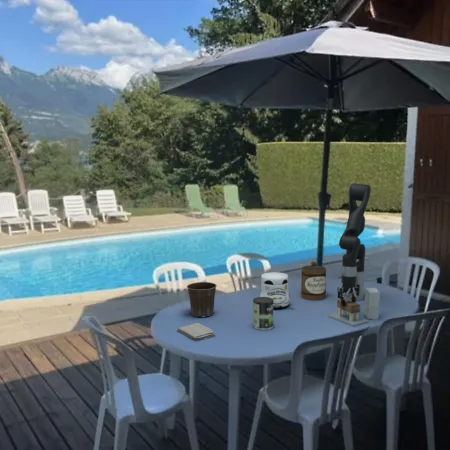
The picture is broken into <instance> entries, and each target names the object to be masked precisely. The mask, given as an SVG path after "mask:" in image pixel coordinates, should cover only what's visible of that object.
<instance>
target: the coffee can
mask: <svg viewBox="0 0 450 450" xmlns="http://www.w3.org/2000/svg"><path fill="white" fill-rule="evenodd" d="M273 301H274V300H273V299H272V298H269V297H260V296H258V297H254V298H253V299H252V302H253V306H252V307H253V311H252V312H253V319H252V321H253V328H254V329H257V330H260V331H261V330H262V331H265V330H271V329H273V328H274V308H273Z"/></svg>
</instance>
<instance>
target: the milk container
mask: <svg viewBox="0 0 450 450" xmlns="http://www.w3.org/2000/svg"><path fill="white" fill-rule="evenodd" d="M260 284H261V285H260V287H261V289H260V294H259V297H269V298H272V299H273V300H274V301H273V309H281V308H282V309H283V308H285V307H287V306H289V304H290V303H291V302H290V301H291V295H290V292H289V284H290V283H289V275H288V274H287V273H283V272H278V271H277V272H275V271H273V272H265V273H262V274H261V277H260Z"/></svg>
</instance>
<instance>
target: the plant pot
mask: <svg viewBox="0 0 450 450" xmlns="http://www.w3.org/2000/svg"><path fill="white" fill-rule="evenodd" d="M217 287H218V286H217V284H216V283H214V282H208V281H199V282H193V283H190V284H188V285H187V286H186V288H187V292H188V293H187V294H188V296H189V304H190V311H191V313H190V314H191V316H193V315H194V316H193V317H195V316H200V317H201V316H209V315H211V316H213V315H214V313H215V296H216V295H215V294H216V288H217ZM212 314H213V315H212ZM209 317H210V316H209Z"/></svg>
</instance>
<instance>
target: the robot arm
mask: <svg viewBox="0 0 450 450" xmlns="http://www.w3.org/2000/svg"><path fill="white" fill-rule="evenodd" d="M371 190H372V189H371V186H370V185H369V184H365V183H355V182H354V183H351V184H350V185H349V189H348V208H349V209H348V218H347V222H346V226H345V229H344V231H343V233H342V235H341V236H340V237H339V240H338V241H339V242H338V245H339V247H340V248H339V249H341V250H345V254H343V255H342V261H341V262H342V263H341V264H342V266H341V286H340V287H339V286H338V287H337V291H336V292H337V299H338V300H340V299H341V306H343V307H345V299H347V300H350V301H352V302H355V303H357V301H362V300H364V298H365V258H366V245H365V244H364V243H361V242H362V241H361V239H360V238H359V236H361V234H362V233H363V232H364V231H365V227H366V217H365V215H364V214H365V213H366V209H367V206H368V203H369V201H370V198H371ZM357 201H358V202H360V204H359V206H358V204H357ZM357 260H358V261H357Z"/></svg>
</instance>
